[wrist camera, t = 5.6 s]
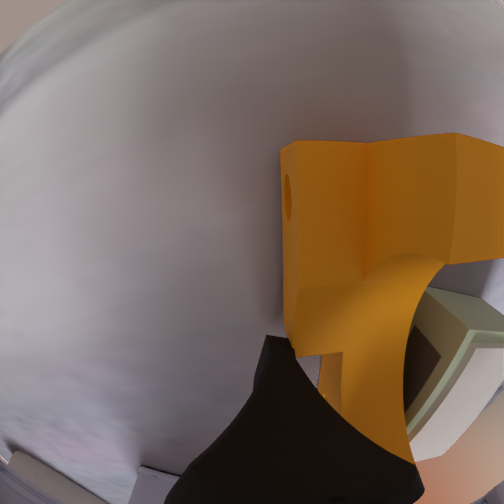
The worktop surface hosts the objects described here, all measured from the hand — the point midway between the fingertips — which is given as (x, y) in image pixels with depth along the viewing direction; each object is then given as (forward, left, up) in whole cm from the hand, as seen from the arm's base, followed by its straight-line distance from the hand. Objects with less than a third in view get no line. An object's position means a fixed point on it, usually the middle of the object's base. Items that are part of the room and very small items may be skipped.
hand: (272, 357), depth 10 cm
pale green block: (+8, -1, -2) cm, 9 cm away
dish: (-23, -44, -2) cm, 49 cm away
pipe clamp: (+2, +2, -2) cm, 3 cm away
